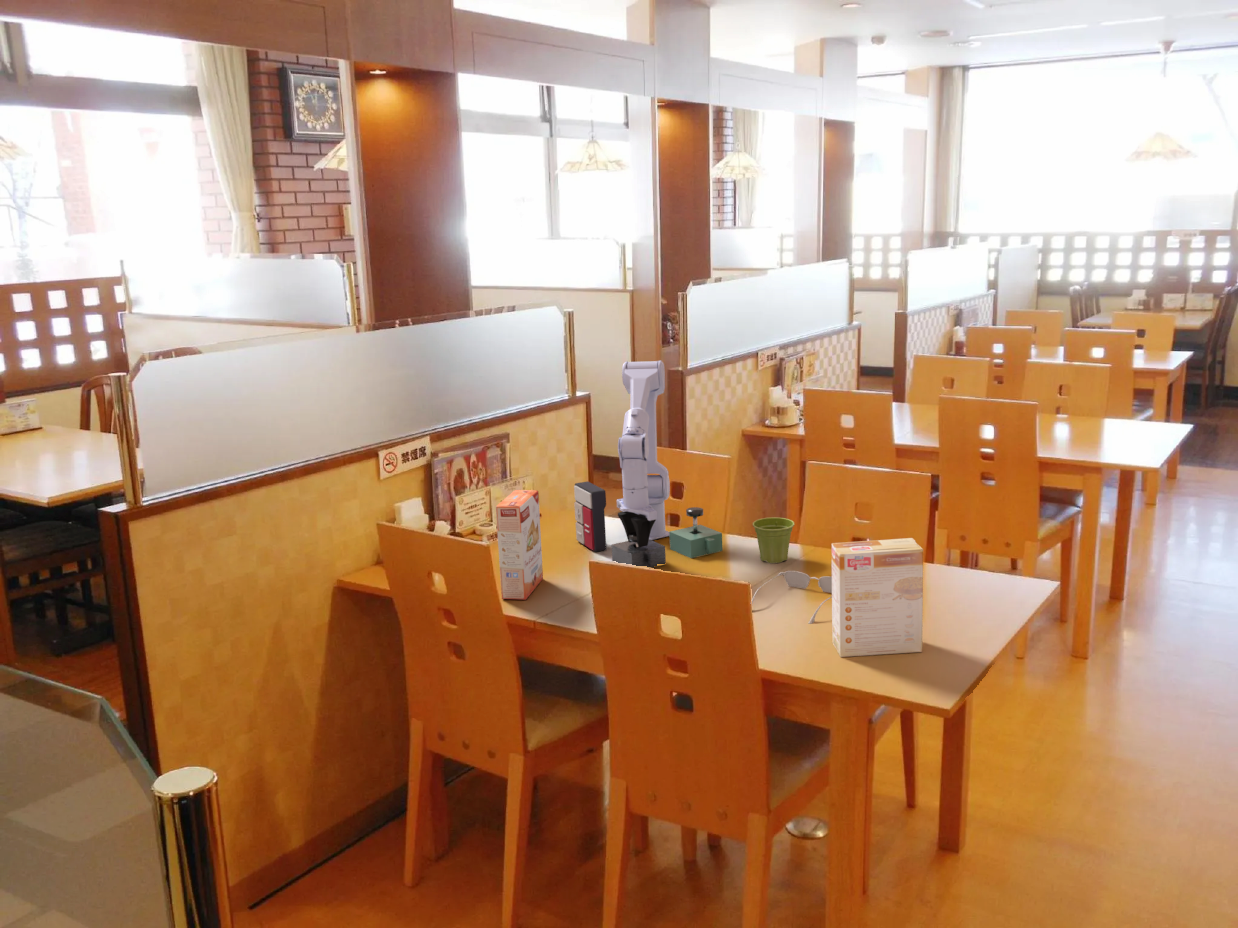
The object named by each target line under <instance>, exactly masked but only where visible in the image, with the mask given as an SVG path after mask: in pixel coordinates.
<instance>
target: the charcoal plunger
mask: <svg viewBox="0 0 1238 928" xmlns="http://www.w3.org/2000/svg"><path fill="white" fill-rule="evenodd" d="M629 541H631V542H636V548H637V547H639V546H638V543H637V536H636V532H633V533H630V534H629Z"/></svg>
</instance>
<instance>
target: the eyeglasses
mask: <svg viewBox="0 0 1238 928" xmlns="http://www.w3.org/2000/svg"><path fill="white" fill-rule="evenodd" d="M782 575H783V578H784V580H785V583H786V585H787V586H788V587H792V588H798V589H807V588H808V586H809V584H810V581H811V580H817V581H818V582H817V584H818V587H819V588H820V589H821V590H822V592H823V593H829V594H832V576H821V577H819V578H818V577H816V576H812V577H811V576H810V575H808V574H807V573H804V572H802V571H797V570H787V571H785V572H784V571H781V572H779V573H778V574H777V575H776V576H774V577H773V578H771V579H770V580H767V581H766V582H765V583H764V584H762V585H760V586H759V587H758V588H757V590H756V591H755V593H754V595H753V596H752V599H751V601H752V605H753V604H754V600H755V597H756V595H757V593H758V591H759V590H760V589H761V588H762V587H763V586H765V585H767V583H769V582H771V580H774V579H775V578H777V577H780V576H782ZM830 599H832V595H831V596H830V597H828V598H826V599H825V600H823V601H822V602H821V603H820V605H818V607H817V608H816V610H815V611H814V613H813V614H812V616H811V618H809V619H810V620H809V621H808V624H810V625H811V624H813V623H815V618H816V615H817V614H818V612H819V610H820V608H821V606H822V605H824V603H826V602H827V601H828V600H830Z"/></svg>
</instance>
